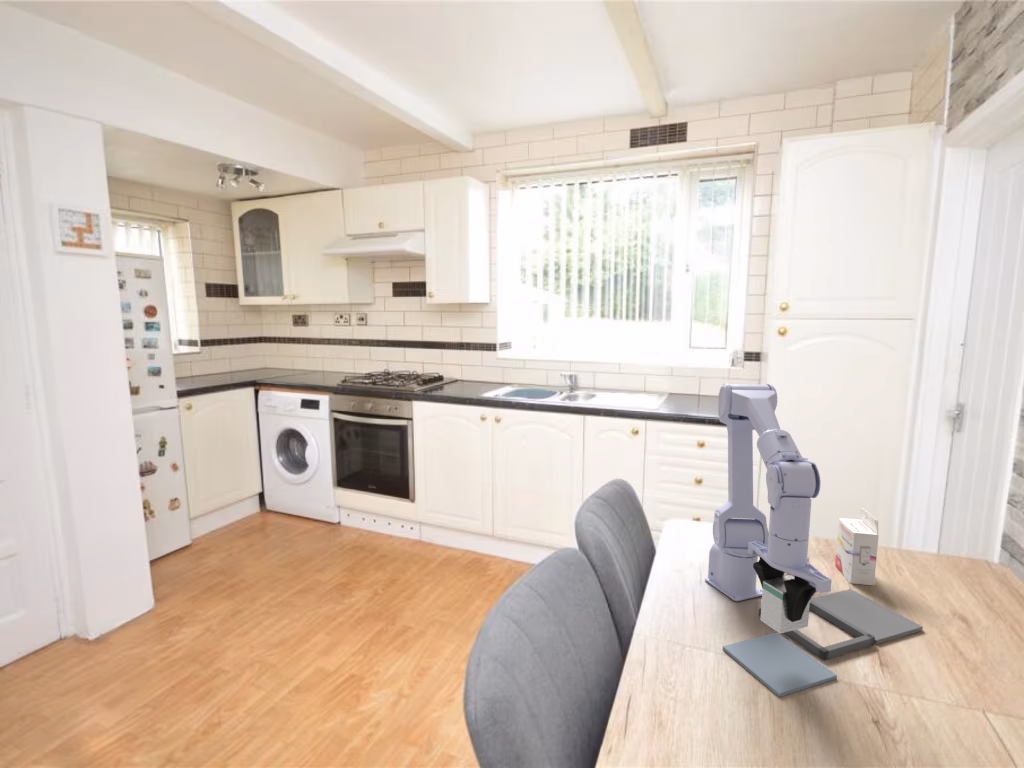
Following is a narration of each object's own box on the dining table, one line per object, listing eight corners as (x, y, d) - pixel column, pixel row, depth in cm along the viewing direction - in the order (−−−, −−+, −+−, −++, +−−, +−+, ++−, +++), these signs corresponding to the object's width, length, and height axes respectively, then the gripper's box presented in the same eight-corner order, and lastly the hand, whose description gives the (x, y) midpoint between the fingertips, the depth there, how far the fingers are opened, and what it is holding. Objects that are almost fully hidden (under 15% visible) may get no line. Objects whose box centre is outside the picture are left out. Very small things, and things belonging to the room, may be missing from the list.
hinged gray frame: (758, 615, 100) (759, 608, 100) (850, 592, 108) (850, 585, 108) (823, 660, 87) (824, 652, 86) (922, 630, 95) (923, 623, 94)
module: (760, 620, 86) (763, 580, 86) (787, 613, 88) (790, 575, 88) (779, 633, 83) (783, 592, 82) (807, 626, 85) (811, 586, 84)
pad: (722, 649, 90) (722, 646, 89) (775, 635, 93) (776, 632, 93) (778, 697, 78) (779, 693, 78) (836, 678, 82) (837, 675, 82)
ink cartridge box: (833, 565, 120) (838, 504, 118) (857, 567, 119) (862, 506, 117) (849, 584, 111) (855, 519, 109) (875, 586, 110) (881, 520, 108)
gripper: (848, 548, 78) (841, 631, 80) (771, 514, 92) (766, 586, 93) (813, 556, 76) (807, 641, 77) (740, 520, 89) (736, 593, 91)
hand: (783, 612), depth 85 cm, fingers closed on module, 4 cm apart
